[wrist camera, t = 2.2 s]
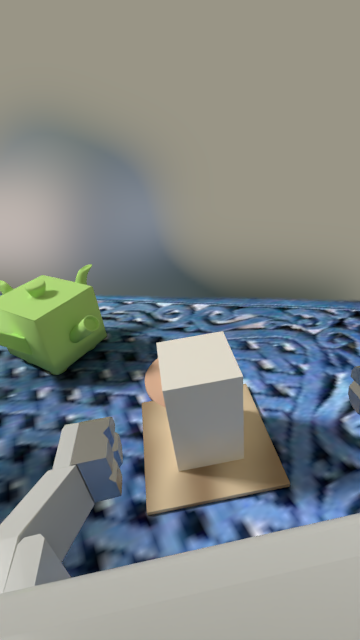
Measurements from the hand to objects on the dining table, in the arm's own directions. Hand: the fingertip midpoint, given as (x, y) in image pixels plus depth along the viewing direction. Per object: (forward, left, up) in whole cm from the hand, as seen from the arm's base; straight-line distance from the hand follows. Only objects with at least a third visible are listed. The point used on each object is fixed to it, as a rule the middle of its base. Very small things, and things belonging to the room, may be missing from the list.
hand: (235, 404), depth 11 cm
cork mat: (-11, +7, -19) cm, 23 cm away
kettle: (-37, +2, -19) cm, 41 cm away
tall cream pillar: (-11, +7, -18) cm, 22 cm away
